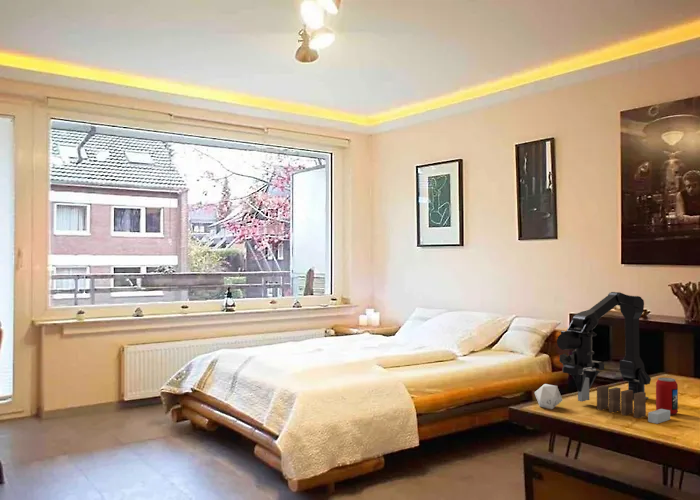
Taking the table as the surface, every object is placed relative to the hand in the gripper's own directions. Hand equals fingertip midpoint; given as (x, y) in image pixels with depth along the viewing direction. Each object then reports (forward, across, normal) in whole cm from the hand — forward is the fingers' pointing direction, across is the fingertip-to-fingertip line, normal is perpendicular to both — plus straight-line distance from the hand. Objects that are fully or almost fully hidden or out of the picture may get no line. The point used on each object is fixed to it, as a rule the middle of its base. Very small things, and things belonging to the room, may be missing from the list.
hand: (583, 390), depth 225 cm
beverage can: (+5, -12, +24) cm, 28 cm away
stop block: (+5, 0, +28) cm, 28 cm away
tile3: (+5, 0, +16) cm, 17 cm away
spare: (+4, 0, 0) cm, 4 cm away
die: (+5, +14, -6) cm, 16 cm away
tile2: (+5, 0, +12) cm, 13 cm away
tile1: (+5, 0, +8) cm, 9 cm away
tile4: (+5, 0, +21) cm, 22 cm away
